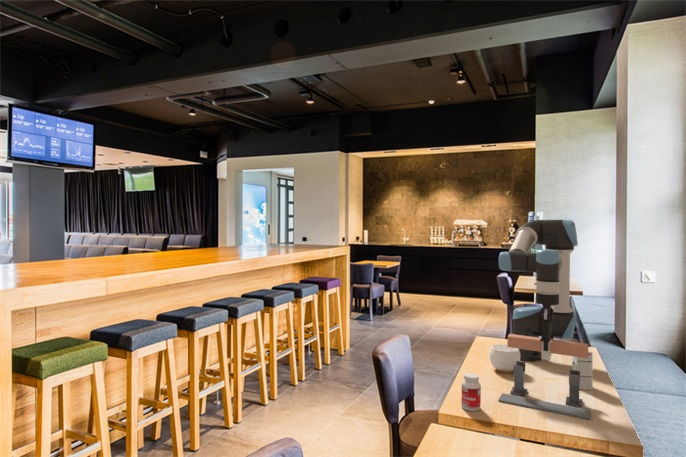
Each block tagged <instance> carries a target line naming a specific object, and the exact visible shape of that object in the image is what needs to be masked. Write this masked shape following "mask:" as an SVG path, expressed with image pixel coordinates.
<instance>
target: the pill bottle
mask: <svg viewBox="0 0 686 457" xmlns="http://www.w3.org/2000/svg"><path fill="white" fill-rule="evenodd" d="M463 379H464V380H462V381H461V407H462V409H464V410H466V411H469V412H477V411H479V410H480V409H481V405H482V404H481V400H482V398H481V397H482V396H481V394H482V392H481V391H482V385H481V383H480V382H479V380H480V379H479V375H478V374H476V373H472V372H471V373H470V372H466V373H464V375H463Z"/></svg>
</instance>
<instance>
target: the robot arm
mask: <svg viewBox="0 0 686 457" xmlns="http://www.w3.org/2000/svg"><path fill="white" fill-rule="evenodd" d="M578 243H579V242H578V234H577V228H576V224H575V222H574V220H571V219H534V220H531V221H528V222H526V223H524V224H522V225H521V226H519V227H518V229H517V230H516V232H515V233H514V240H513V243H512V244H511V246H510V248H509V250H508V251H502V252H500V253H499V256H498V268H499V270H501V271H504V272H507V271H508V272H518V273H519V272H520V273H521V272H522V273H534V274H535V273H536V278H535V280H536V281H535V282H534V283H533V284H534V286H536V287H535V291H536V293H535V303H536V304H538V305H542V307H541V308H540V307H538V306H522V307H517V308H515V309H514V310H513V311H512V318H511V319H512V334H515V335H523V336H530V337H538V338H541V339H540V341H542V352H539V351H532V350H525V349H519V351H520V361H523V362H525V361H526V362H540V361H542V360H546V361H551V357H552V353H550V339H556V340H561V341H563V340H564V341H569V340H572V339H574V333H575V328H576V322H577V314H575V313H574V310H573V308H572V307H571V306H570V291H571V290H570V287H571V286H570V284H571V280H570V278H571V253H572V252H573V251H574V250H575V247H577V246H578ZM534 245H535V246H544V249H538V250H537V251H536V252H531V249H532V248H533V246H534Z"/></svg>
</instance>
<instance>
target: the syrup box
mask: <svg viewBox="0 0 686 457" xmlns="http://www.w3.org/2000/svg"><path fill="white" fill-rule="evenodd" d="M571 358H572V359H571V360H572V361H571V362H572V365H571V366H572V370H578V371H580V386H579V390H583V391H584V390H586V391H588V390H589V391H592V390H593V385H594V384H593V383H594V382H593V380H594V378H593V377H594V375H593V373H594V371H593V365H594V364H593V352H592V351H591V350H590V349H589V348H588V358H581V357H574V356H571Z"/></svg>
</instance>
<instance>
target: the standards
mask: <svg viewBox="0 0 686 457" xmlns="http://www.w3.org/2000/svg"><path fill="white" fill-rule="evenodd" d="M525 373H526V362H525V361H522V360H520V361H516V365H514V366H513V371H512V375H513V377H514V378H513V379H514V381H513V382H514V383H513V386H512V389H511V390H510V395H514V396H520V397H525V398H526V396H527V394H528V388H525ZM568 385H569V392H568V394H569V395H568V396H566V398H565V405H566V406H571V407H576V408H581V409H583V399H582V398H580V389H579V386H580V371H578V370H572V369H569V374H568Z"/></svg>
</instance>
